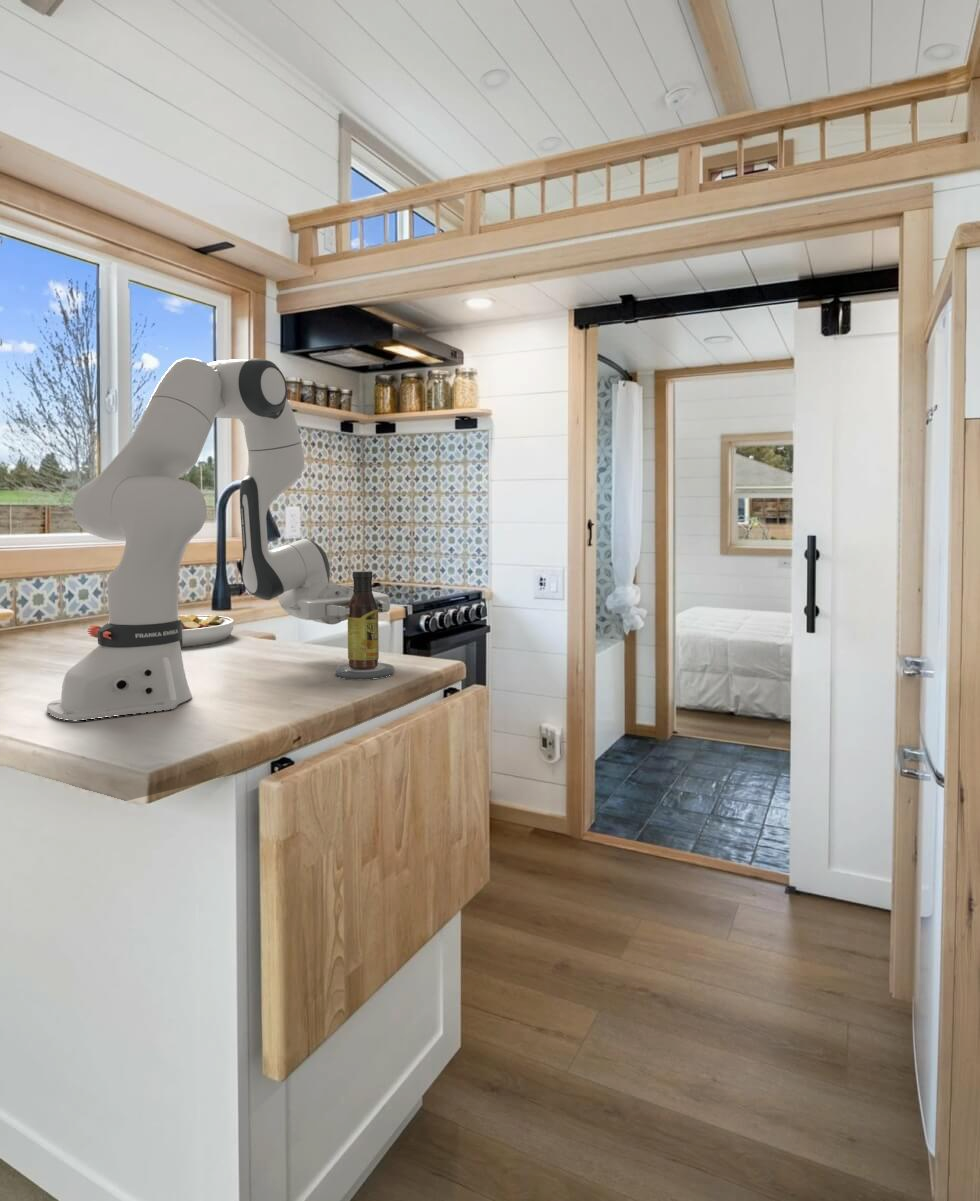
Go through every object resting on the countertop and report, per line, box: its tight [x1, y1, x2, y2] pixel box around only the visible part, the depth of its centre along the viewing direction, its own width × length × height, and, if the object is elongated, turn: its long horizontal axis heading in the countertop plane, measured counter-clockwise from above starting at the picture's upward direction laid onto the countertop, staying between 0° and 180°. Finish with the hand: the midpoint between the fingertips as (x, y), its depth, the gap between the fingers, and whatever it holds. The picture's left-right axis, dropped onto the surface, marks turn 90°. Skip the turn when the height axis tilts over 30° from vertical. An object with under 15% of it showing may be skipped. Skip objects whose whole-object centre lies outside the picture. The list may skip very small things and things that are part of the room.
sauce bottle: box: [347, 570, 380, 669], centre depth 157 cm, size 7×6×20 cm
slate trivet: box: [334, 662, 395, 680], centre depth 158 cm, size 12×12×1 cm
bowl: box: [178, 613, 235, 648], centre depth 199 cm, size 30×30×8 cm
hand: (366, 609), depth 156 cm, fingers open, 8 cm apart
